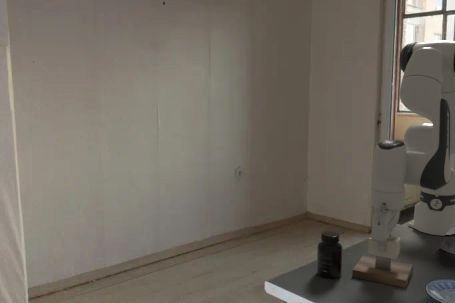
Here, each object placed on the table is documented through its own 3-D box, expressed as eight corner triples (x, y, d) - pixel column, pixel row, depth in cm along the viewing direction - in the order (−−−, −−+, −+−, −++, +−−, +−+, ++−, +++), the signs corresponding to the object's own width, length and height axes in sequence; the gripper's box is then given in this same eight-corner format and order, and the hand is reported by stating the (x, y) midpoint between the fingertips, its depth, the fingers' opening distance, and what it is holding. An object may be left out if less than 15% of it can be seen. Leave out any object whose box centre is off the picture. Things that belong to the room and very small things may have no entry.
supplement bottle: (322, 267, 132) (324, 228, 130) (345, 273, 128) (347, 232, 126) (312, 275, 127) (314, 234, 125) (335, 282, 123) (337, 239, 121)
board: (362, 261, 137) (362, 255, 136) (412, 271, 130) (412, 264, 129) (352, 276, 126) (352, 269, 126) (405, 287, 119) (406, 280, 119)
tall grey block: (376, 264, 129) (377, 251, 129) (391, 267, 127) (391, 254, 127) (375, 266, 128) (375, 253, 127) (389, 269, 126) (390, 256, 125)
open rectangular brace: (399, 253, 127) (400, 237, 127) (396, 259, 123) (397, 242, 122) (371, 248, 131) (372, 232, 130) (367, 253, 127) (368, 237, 126)
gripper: (392, 210, 114) (389, 262, 116) (405, 193, 132) (402, 239, 134) (366, 206, 117) (363, 257, 119) (382, 190, 135) (379, 235, 137)
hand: (384, 247), depth 127 cm, fingers closed on open rectangular brace, 5 cm apart
